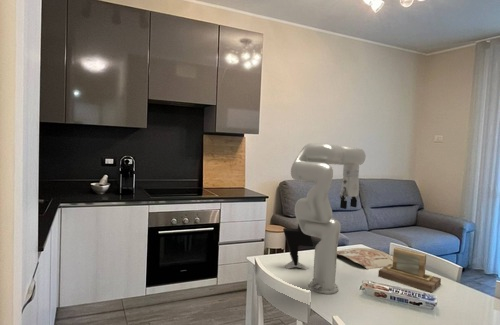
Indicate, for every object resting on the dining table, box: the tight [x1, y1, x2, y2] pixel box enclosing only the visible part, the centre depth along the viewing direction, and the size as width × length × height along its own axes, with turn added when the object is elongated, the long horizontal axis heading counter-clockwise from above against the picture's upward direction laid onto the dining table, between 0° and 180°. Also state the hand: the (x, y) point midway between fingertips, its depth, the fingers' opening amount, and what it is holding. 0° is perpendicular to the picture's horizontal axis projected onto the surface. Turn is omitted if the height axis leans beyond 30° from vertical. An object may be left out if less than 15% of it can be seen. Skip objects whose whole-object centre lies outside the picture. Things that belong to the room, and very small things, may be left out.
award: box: [283, 224, 314, 270], centre depth 170 cm, size 15×5×30 cm, turn 92°
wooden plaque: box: [392, 247, 427, 278], centre depth 161 cm, size 4×14×11 cm, turn 46°
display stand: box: [377, 264, 442, 294], centre depth 161 cm, size 14×24×4 cm, turn 45°
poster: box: [337, 247, 393, 270], centre depth 189 cm, size 28×6×30 cm
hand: (348, 207), depth 168 cm, fingers open, 9 cm apart
